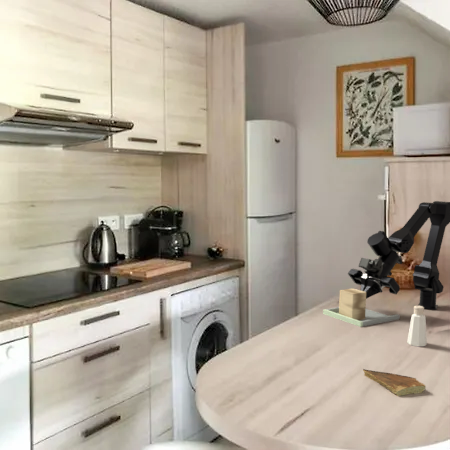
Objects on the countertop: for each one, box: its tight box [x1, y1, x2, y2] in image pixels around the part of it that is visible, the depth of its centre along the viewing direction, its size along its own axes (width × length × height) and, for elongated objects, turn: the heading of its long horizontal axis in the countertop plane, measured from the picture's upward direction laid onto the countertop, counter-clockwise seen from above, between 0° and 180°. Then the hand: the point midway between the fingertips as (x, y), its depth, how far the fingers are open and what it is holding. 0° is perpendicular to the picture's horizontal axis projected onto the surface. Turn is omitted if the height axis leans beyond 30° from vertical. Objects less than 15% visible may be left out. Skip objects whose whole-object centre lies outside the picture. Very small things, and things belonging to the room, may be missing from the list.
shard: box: [362, 368, 427, 397], centre depth 126 cm, size 13×9×2 cm
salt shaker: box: [406, 305, 428, 347], centre depth 154 cm, size 5×5×11 cm
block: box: [338, 288, 367, 321], centre depth 175 cm, size 6×6×9 cm
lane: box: [322, 306, 401, 328], centre depth 178 cm, size 18×17×3 cm
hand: (359, 300), depth 177 cm, fingers closed
